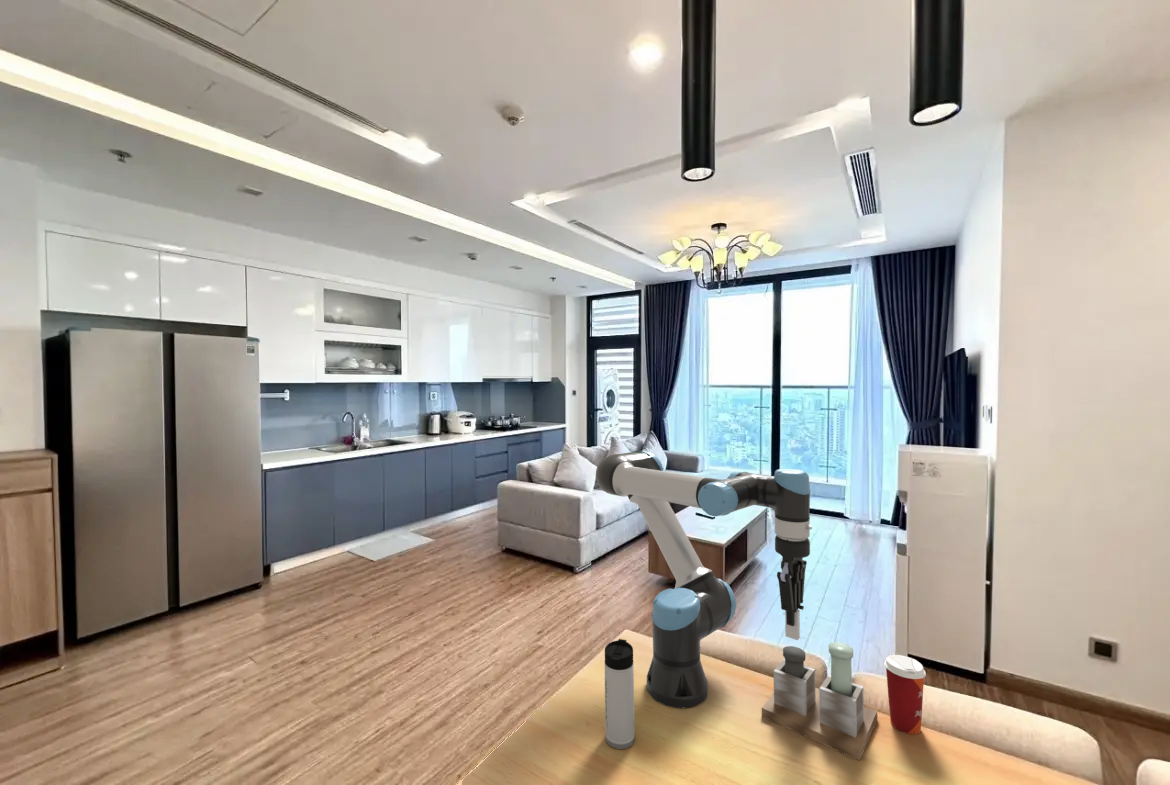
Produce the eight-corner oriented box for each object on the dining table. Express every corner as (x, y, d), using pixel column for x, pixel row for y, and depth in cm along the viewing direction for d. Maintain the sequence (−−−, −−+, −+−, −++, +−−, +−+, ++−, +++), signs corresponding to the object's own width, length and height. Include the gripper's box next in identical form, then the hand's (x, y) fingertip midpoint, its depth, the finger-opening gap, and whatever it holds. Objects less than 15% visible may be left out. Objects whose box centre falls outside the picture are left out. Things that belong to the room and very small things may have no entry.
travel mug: (637, 731, 106) (636, 640, 106) (630, 752, 100) (629, 656, 100) (610, 725, 108) (609, 636, 108) (601, 746, 102) (600, 651, 102)
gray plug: (780, 700, 112) (779, 652, 112) (787, 690, 115) (787, 644, 115) (802, 709, 109) (801, 659, 109) (808, 698, 112) (808, 651, 112)
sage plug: (826, 699, 105) (825, 648, 105) (832, 689, 109) (832, 639, 109) (850, 708, 102) (850, 656, 102) (856, 698, 105) (855, 647, 105)
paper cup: (933, 740, 102) (932, 674, 102) (893, 735, 104) (892, 670, 104) (916, 715, 110) (915, 654, 110) (879, 711, 111) (878, 651, 111)
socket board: (761, 716, 110) (761, 675, 110) (787, 684, 122) (786, 647, 122) (859, 760, 97) (858, 713, 97) (877, 719, 109) (876, 677, 109)
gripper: (799, 546, 105) (799, 654, 105) (818, 533, 114) (818, 631, 115) (765, 539, 110) (765, 642, 110) (785, 527, 119) (786, 621, 120)
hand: (792, 636), depth 112 cm, fingers closed
